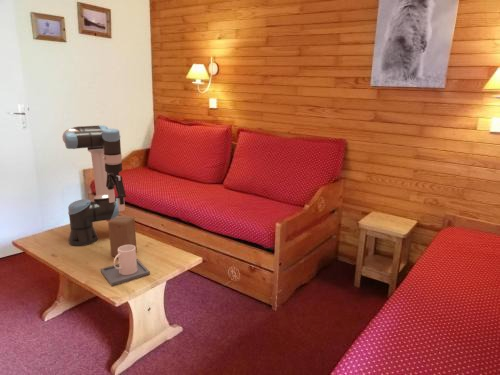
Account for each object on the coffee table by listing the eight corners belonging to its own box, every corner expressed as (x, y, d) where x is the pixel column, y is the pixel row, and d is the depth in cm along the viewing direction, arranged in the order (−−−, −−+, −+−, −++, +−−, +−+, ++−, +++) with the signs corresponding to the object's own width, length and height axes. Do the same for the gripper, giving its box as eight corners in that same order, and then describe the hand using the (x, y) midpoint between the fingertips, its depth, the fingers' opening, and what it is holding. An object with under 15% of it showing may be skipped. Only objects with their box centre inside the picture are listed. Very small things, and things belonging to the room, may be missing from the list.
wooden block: (128, 258, 193) (125, 222, 187) (110, 256, 195) (107, 221, 189) (137, 250, 202) (135, 216, 197) (120, 248, 204) (117, 214, 198)
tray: (100, 272, 179) (100, 268, 179) (137, 261, 190) (137, 258, 189) (111, 286, 167) (111, 282, 166) (149, 274, 178) (149, 271, 177)
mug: (119, 279, 171) (117, 256, 168) (109, 273, 176) (107, 250, 173) (141, 270, 180) (139, 247, 176) (131, 264, 185) (129, 242, 182)
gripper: (96, 158, 178) (100, 200, 185) (114, 169, 160) (117, 215, 166) (112, 156, 183) (116, 197, 189) (131, 167, 164) (134, 212, 170)
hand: (116, 206), depth 178 cm, fingers open, 13 cm apart
